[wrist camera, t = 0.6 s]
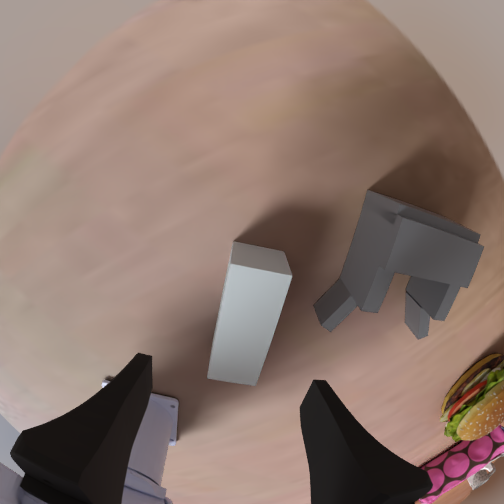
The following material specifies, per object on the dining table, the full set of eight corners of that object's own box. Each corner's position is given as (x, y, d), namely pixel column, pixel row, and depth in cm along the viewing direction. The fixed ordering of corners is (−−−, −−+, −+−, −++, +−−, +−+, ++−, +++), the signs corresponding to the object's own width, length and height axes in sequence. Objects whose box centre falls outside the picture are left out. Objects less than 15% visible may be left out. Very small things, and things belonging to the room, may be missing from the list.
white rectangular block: (254, 351, 23) (255, 385, 19) (212, 343, 23) (207, 378, 19) (283, 250, 20) (292, 275, 16) (233, 240, 19) (230, 263, 16)
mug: (467, 477, 50) (473, 490, 44) (466, 475, 48) (472, 489, 42) (490, 460, 48) (497, 473, 42) (491, 457, 46) (498, 470, 40)
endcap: (412, 323, 22) (440, 360, 17) (311, 310, 21) (327, 356, 16) (453, 220, 19) (496, 242, 14) (351, 184, 18) (386, 200, 13)
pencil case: (494, 407, 31) (517, 442, 22) (495, 420, 34) (514, 451, 25) (401, 472, 36) (415, 511, 27) (413, 478, 39) (426, 511, 29)
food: (450, 425, 31) (468, 460, 23) (420, 405, 27) (445, 451, 20) (512, 367, 27) (537, 397, 20) (500, 328, 24) (536, 366, 16)
